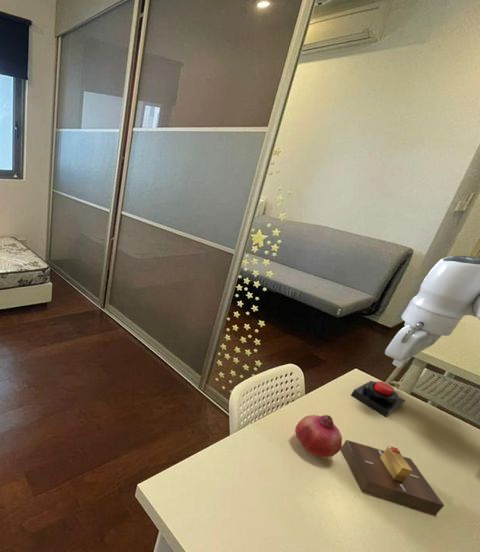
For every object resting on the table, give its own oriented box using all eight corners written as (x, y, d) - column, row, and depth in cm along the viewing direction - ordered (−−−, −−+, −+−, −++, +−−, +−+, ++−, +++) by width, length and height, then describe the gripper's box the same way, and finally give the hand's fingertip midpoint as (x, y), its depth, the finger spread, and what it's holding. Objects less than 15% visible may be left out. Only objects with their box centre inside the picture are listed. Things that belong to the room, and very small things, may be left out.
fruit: (340, 462, 68) (362, 429, 64) (313, 470, 66) (334, 436, 62) (307, 431, 75) (325, 399, 71) (281, 436, 73) (297, 404, 69)
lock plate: (403, 467, 69) (411, 458, 67) (435, 515, 60) (444, 505, 59) (340, 448, 71) (346, 439, 70) (361, 491, 63) (369, 481, 61)
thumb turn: (403, 482, 62) (413, 469, 60) (393, 479, 62) (403, 467, 61) (388, 460, 66) (397, 447, 65) (379, 457, 67) (388, 445, 65)
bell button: (377, 384, 88) (380, 379, 87) (393, 393, 85) (396, 388, 85) (371, 388, 87) (374, 383, 86) (387, 397, 84) (390, 392, 83)
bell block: (367, 386, 93) (373, 375, 91) (401, 406, 87) (409, 395, 85) (350, 395, 88) (357, 384, 87) (385, 417, 82) (393, 406, 80)
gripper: (430, 334, 69) (396, 383, 75) (460, 319, 79) (428, 363, 85) (394, 319, 74) (365, 366, 80) (426, 307, 84) (398, 349, 90)
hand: (398, 364), depth 82 cm, fingers closed
